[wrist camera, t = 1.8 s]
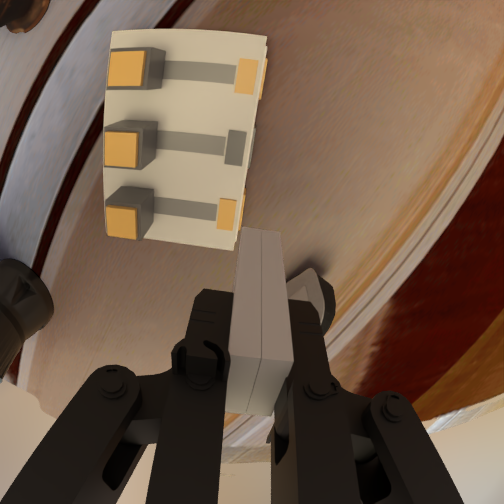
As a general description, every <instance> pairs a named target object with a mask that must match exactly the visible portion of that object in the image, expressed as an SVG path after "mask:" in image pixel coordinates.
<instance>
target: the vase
mask: <svg viewBox="0 0 504 504" xmlns="http://www.w3.org/2000/svg"><path fill="white" fill-rule="evenodd" d="M49 1H50V0H0V27H2V26H4V25H6V26H7V28H8V30H9V31H10V32H12V33H19V32H24V33H26V32H27V31H29V30H30V29H32V28H33V27H34V26H35V25H36V24H37V23H38V22H39V21H40V19H41V18H42V17H43V15H44V13H45V12H46V10H47V7H48V5H49Z"/></svg>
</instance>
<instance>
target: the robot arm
mask: <svg viewBox="0 0 504 504" xmlns="http://www.w3.org/2000/svg"><path fill="white" fill-rule="evenodd" d="M52 315H53V303H52V299H51V296H50V294H49V292H48V290H47V288H46V287H45V285H44V284H43V282H42V281H41V280H40V278H39V277H38V276H37V275H36V274H35V273H34V272H33V271H32V270H31V269H30V268H28V267H27V266H26V265H24V264H23V263H21V262H19V261H16V260H13V259H4V260H2V261H0V383H1V382H2V379H3V377H4V375H5V374H6V372H7V370H8V368H9V367H10V365H11V363H12V362H13V360H14V358H15V357H16V355H17V353H18V352H19V350H20V348H21V347H22V345H23V343H24V342H25V340H27V339H28V338H29V337H31V336H32V335H33V334H35V333H36V332H37V331H38V330H41V329H42V328H44V327H45V326H46V325H47V323H48V322H49V320H50V319H51V317H52ZM171 358H172V368H171V369H169V370H168V371H166V372H163V373H160V374H155V375H144V376H136V375H135V374H134V372H132V371H131V370H129V369H128V368H126V367H123V366H120V365H106V366H103V367H101V368H98V369H97V370H95V371H94V372H93V373H92V374H91V375H90V376H89V377H88V379H87V380H86V381H85V383H84V384H83V385H82V387H81V388H80V389H79V391H78V392H77V393H76V394H75V396H74V397H73V398H72V400H71V401H70V402H69V404H68V405H67V406H66V408H65V409H64V410H63V412H62V413H61V415H60V416H59V417H58V419H57V420H56V421H55V423H54V424H53V425H52V427H51V428H50V430H49V431H48V432H47V434H46V435H45V437H44V438H43V440H42V441H41V442H40V444H39V445H38V446H37V448H36V449H35V451H34V452H33V454H32V455H31V457H30V458H29V459H28V461H27V462H26V464H25V465H24V467H23V468H22V470H21V471H20V473H19V474H18V476H17V477H16V479H15V480H14V482H13V483H12V485H11V486H10V488H9V489H8V491H7V492H6V494H5V495H4V497H3V498H2V500H1V502H0V504H116V503H117V501H118V499H119V497H120V495H121V493H122V491H123V490H124V488H125V486H126V484H127V482H128V481H129V479H130V477H131V475H132V473H133V471H134V469H135V467H136V466H137V464H138V462H139V460H140V458H141V457H142V455H143V453H144V451H145V449H146V447H147V446H148V444H154V443H157V445H156V450H155V455H154V461H153V465H152V470H151V476H150V481H149V486H148V492H147V497H146V503H145V504H218V491H219V477H220V464H221V452H222V440H223V428H224V416H225V412H228V413H238V414H245V413H246V414H248V415H259V416H271V415H272V413H273V411H274V415H275V422H274V424H273V426H272V429H271V431H270V433H269V435H268V437H267V441H266V443H269V444H270V442H271V504H464V503H463V500H462V498H461V496H460V494H459V492H458V490H457V488H456V486H455V484H454V482H453V480H452V478H451V476H450V474H449V472H448V471H447V469H446V467H445V465H444V463H443V461H442V459H441V457H440V456H439V453H438V452H437V450H436V448H435V446H434V444H433V442H432V441H431V439H430V437H429V435H428V433H427V431H426V430H425V428H424V426H423V424H422V423H421V421H420V419H419V417H418V415H417V414H416V412H415V410H414V408H413V407H412V405H411V404H410V402H409V401H408V400H407V399H406V398H405V397H404V396H402V395H401V394H399V393H397V392H393V391H382V392H380V393H378V394H377V395H375V397H374V398H373V399H371V398H367V397H364V396H360V395H357V394H353V393H351V392H348V391H346V390H345V389H343V388H342V387H341V385H340V383H339V381H338V380H337V379H336V378H335V377H334V376H333V375H331V372H330V368H329V362H328V357H327V352H326V347H325V342H324V337H323V332H322V327H321V322H320V317H319V312H318V311H317V310H316V308H315V307H314V306H313V304H312V303H311V302H310V301H302V300H294V299H288V298H287V289H286V280H285V271H284V262H283V253H282V245H281V237H280V232H277V231H271V230H264V229H257V228H250V227H244V226H242V231H241V237H240V244H239V251H238V257H237V264H236V271H235V277H234V285H233V293H232V292H225V291H218V290H211V289H203V290H202V291H201V292H200V293H199V294H198V295H197V296H196V297H195V300H194V304H193V307H192V311H191V315H190V320H189V323H188V327H187V331H186V335H185V338H184V339H182V340H181V341H180V342H178V343H177V344H176V345H175V346H174V348H173V350H172V352H171Z"/></svg>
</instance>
